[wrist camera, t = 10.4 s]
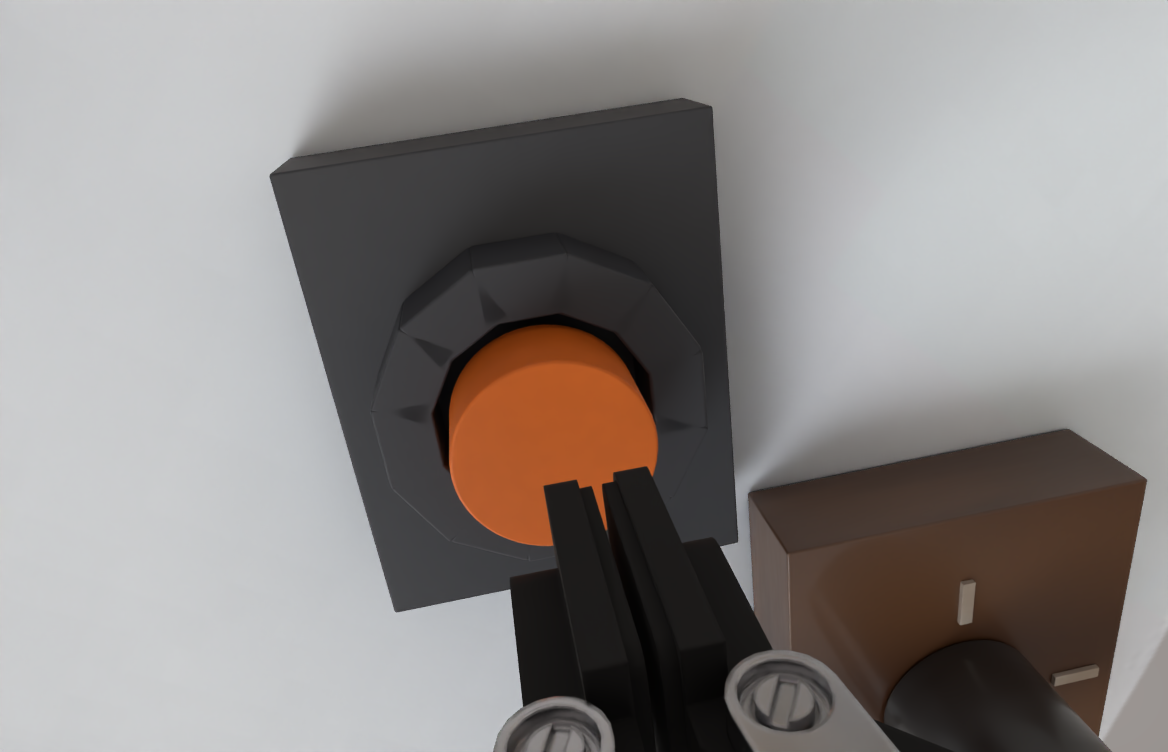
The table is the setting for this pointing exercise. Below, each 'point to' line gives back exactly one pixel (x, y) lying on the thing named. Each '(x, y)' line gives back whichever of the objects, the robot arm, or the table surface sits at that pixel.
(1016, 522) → the dial panel
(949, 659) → the dial
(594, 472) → the switch
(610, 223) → the switch base
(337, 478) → the table surface
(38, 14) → the table surface
